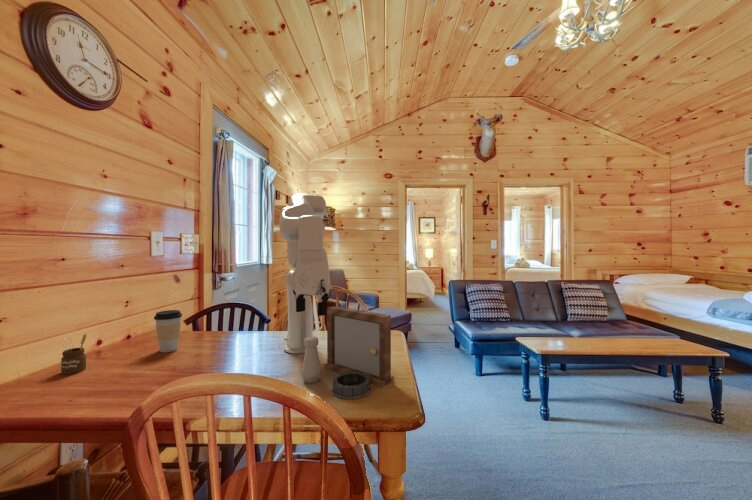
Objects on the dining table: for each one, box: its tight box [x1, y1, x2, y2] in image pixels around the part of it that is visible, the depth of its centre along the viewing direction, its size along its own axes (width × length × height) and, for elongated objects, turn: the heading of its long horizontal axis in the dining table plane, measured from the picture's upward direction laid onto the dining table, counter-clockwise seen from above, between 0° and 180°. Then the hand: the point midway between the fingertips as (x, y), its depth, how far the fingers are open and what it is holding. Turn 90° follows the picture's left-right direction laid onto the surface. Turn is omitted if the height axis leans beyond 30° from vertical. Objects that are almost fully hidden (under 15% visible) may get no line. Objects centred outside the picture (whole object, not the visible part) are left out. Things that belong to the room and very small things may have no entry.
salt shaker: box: [301, 336, 322, 384], centre depth 95 cm, size 6×6×13 cm
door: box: [334, 315, 380, 377], centre depth 99 cm, size 19×3×16 cm, turn 53°
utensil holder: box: [60, 333, 87, 375], centre depth 102 cm, size 6×6×12 cm
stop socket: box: [331, 372, 372, 400], centre depth 88 cm, size 11×11×3 cm
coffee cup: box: [153, 309, 183, 353], centre depth 123 cm, size 9×9×15 cm
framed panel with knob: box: [323, 305, 395, 388], centre depth 99 cm, size 24×6×20 cm, turn 53°
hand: (311, 313), depth 94 cm, fingers open, 9 cm apart
